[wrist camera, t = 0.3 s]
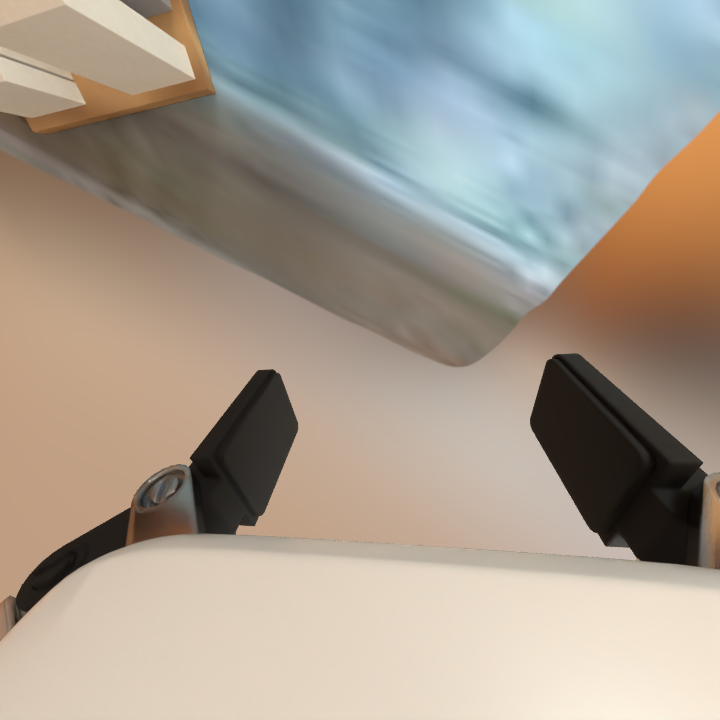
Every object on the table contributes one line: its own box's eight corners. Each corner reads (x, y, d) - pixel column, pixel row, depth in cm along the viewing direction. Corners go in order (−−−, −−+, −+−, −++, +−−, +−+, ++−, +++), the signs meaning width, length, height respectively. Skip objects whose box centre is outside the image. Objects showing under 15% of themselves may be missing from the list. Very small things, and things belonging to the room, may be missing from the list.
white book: (118, 64, 28) (-62, -21, 17) (184, 45, 26) (35, -59, 15) (132, 95, 29) (-28, 36, 18) (195, 79, 27) (65, 4, 17)
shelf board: (-61, -50, 26) (-85, -63, 24) (146, -138, 22) (130, -158, 20) (46, 134, 33) (33, 132, 32) (216, 93, 29) (208, 89, 28)
